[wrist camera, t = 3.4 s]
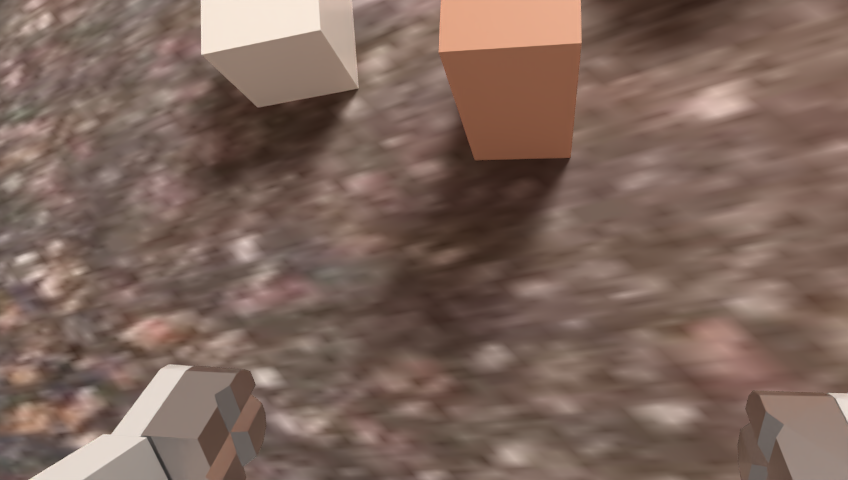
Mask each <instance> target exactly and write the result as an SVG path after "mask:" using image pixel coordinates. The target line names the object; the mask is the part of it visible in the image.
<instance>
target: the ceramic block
mask: <svg viewBox="0 0 848 480" xmlns="http://www.w3.org/2000/svg"><path fill="white" fill-rule="evenodd" d="M201 55H202V56H203V57H204V58H205V59H207V60H208V61H209V62H210V63H211V64H212V65H213V66H214V67H215V68H216V69H217V70H218V71H219V72H220V73H221V74H222V75H224V76H225V77H226V78H227V79H228V80H229V81H230V82H231V83H232V84H233V85H234V86H235V87H236V88H237V89H238V90H240V91H241V92H242V93H243V94H244V95H245V96H246V97H247V98H248V99H249V100H250V101H251V102H252V103H253V104H254V105H255V106H257V107H264V106H269V105H274V104H280V103H285V102H290V101H295V100H301V99H306V98H311V97H317V96H322V95H327V94H332V93H338V92H343V91H348V90H354V89H359V86H358V73H357V60H356V47H355V34H354V21H353V8H352V0H201Z"/></svg>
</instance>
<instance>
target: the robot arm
mask: <svg viewBox="0 0 848 480" xmlns="http://www.w3.org/2000/svg"><path fill="white" fill-rule="evenodd" d="M255 385H256V384H255V382H254V379H253V377H252V374H251V372H250V371H248V370H245V369H235V368H220V367H206V366H184V365H170V364H169V365H167V366H165V367H163V368H162V369H160V370H159V372H158V373H157V374H156V376H155V377H154V378H153V380H152V381H151V382H150V384H149V385H148V386H147V388H146V389H145V390H144V392H143V393H142V394H141V396H140V397H139V398H138V400H137V401H136V402H135V404H134V405H133V406H132V407H131V409H130V410H129V411H128V413H127V414H126V415H125V417H124V418H123V419H122V421H121V422H120V423H119V425H118V426H117V427H116V429H115V430H114V431H113V433H112V434H111V435H108V434H103V435H101V436H100V437H98V438H96V439H95V440H93V441H91V442H90V443H88V444H87V445H85V446H83V447H82V448H80V449H78V450H77V451H75V452H73V453H72V454H70V455H69V456H67V457H65V458H64V459H62V460H60V461H59V462H57V463H55V464H54V465H52V466H51V467H49V468H47V469H46V470H44V471H42V472H41V473H39V474H37V475H36V476H34V477H33V478H31V479H29V480H246V475H245V471H244V466H245V465H246V464H247V463H249V462H250V461H251V460H253V459H254V458H255V457H257V455H258V453H259V450H260V448H261V446H262V444H263V441H264V435H265V430H266V415H265V411H264V408H263V405H262V403H261V402H260V401H259V400H258V399H257V398H256V397H254V396H253V395H252V394H251V393H252V391H253V389H254V387H255ZM745 409H746V412H747V415H748V418H749V421H750V423H748V424H747V425H746V426H744V427H743V428H742V429H740V435H739V440H738V466H739V472H740V477H741V480H848V394H845V393H827V394H825V393H813V392H784V391H754V390H753V391H752V392H751V394H750V395H749V396H748V400H747V404H746V408H745Z"/></svg>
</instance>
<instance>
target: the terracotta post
mask: <svg viewBox="0 0 848 480" xmlns="http://www.w3.org/2000/svg"><path fill="white" fill-rule="evenodd" d="M580 53H581V0H441V12H440V35H439V54H440V57H441V60H442V63H443V66H444V69H445V72H446V75H447V78H448V81H449V84H450V87H451V90H452V93H453V96H454V99H455V102H456V105H457V108H458V111H459V114H460V117H461V120H462V123H463V126H464V129H465V132H466V135H467V138H468V141H469V144H470V147H471V150H472V153H473V156H474V159H475V160H505V159H541V158H570V157H571V147H572V136H573V126H574V115H575V105H576V95H577V84H578V74H579V63H580Z"/></svg>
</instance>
